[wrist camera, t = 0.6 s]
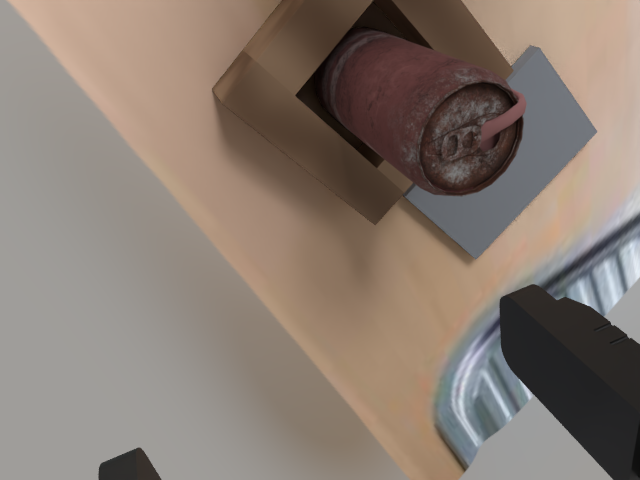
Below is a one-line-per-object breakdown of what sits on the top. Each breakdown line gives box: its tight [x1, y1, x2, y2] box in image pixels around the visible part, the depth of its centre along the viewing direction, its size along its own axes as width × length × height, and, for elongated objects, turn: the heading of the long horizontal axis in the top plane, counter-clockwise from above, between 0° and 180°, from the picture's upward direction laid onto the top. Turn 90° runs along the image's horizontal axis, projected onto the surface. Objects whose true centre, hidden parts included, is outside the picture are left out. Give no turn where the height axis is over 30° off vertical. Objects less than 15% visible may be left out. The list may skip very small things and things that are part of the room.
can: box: [315, 27, 527, 197], centre depth 30 cm, size 6×6×14 cm
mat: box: [403, 45, 597, 259], centre depth 43 cm, size 14×10×1 cm
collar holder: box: [212, 0, 514, 225], centre depth 35 cm, size 14×14×4 cm
